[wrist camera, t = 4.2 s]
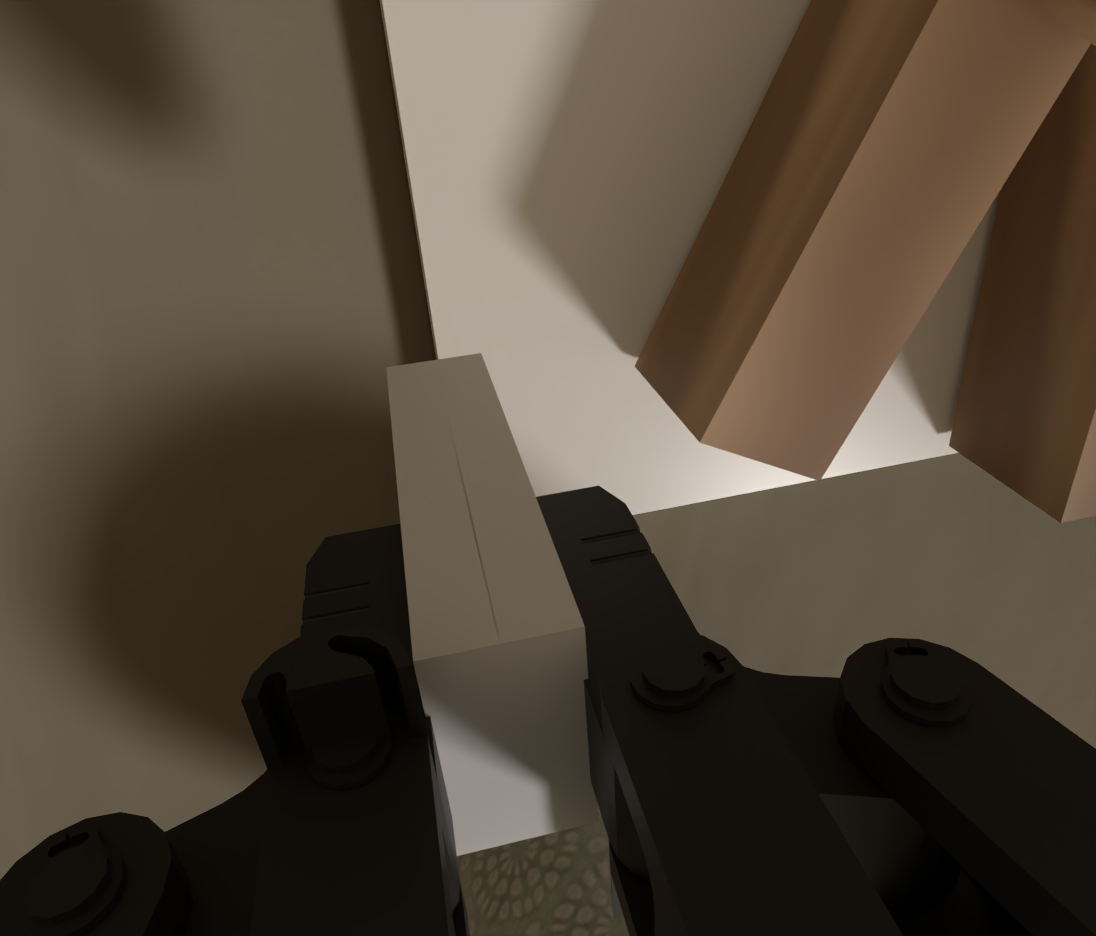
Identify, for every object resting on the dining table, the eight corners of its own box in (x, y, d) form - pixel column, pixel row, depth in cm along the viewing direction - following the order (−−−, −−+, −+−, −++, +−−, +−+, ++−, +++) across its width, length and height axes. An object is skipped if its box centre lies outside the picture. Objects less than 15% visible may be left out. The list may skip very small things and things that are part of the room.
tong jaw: (634, 366, 18) (752, 504, 13) (1047, -490, 13) (1564, -875, 7) (871, 449, 21) (1050, 591, 16) (1299, -222, 15) (1809, -358, 10)
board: (461, 521, 21) (467, 546, 20) (336, -267, 13) (335, -292, 12) (1016, 418, 24) (1047, 435, 23) (1194, -294, 16) (1253, -317, 15)
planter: (331, 825, 26) (322, 1272, 16) (562, 554, 22) (712, 921, 13) (606, 904, 31) (715, 1271, 22) (823, 696, 28) (1057, 1023, 19)
